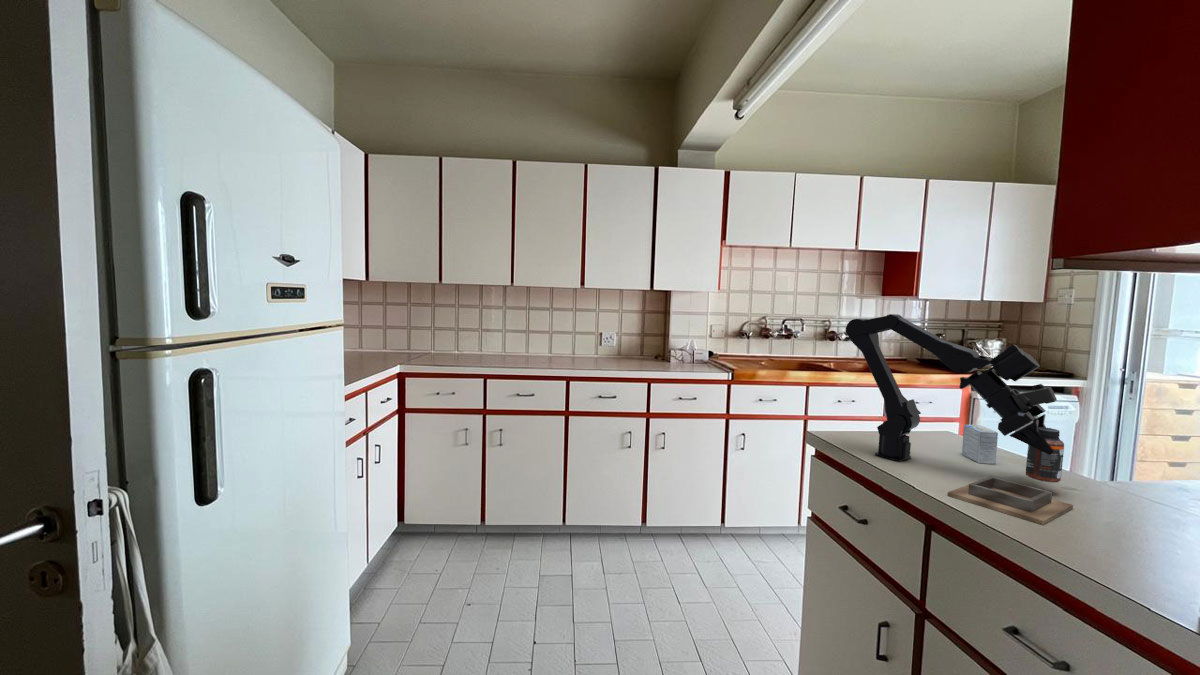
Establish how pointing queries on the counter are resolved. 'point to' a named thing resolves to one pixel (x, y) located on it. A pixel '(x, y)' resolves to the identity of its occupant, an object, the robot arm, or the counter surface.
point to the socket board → (1012, 499)
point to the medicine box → (980, 444)
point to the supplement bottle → (1046, 458)
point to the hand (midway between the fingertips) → (1054, 451)
